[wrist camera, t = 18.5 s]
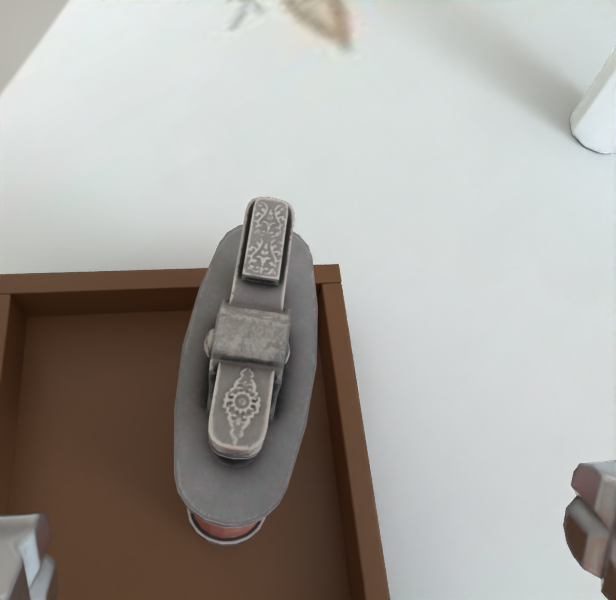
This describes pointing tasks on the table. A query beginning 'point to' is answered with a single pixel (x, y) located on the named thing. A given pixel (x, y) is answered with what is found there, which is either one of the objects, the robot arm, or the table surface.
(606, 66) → the milkshake
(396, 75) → the table surface
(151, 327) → the tray
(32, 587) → the robot arm
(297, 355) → the lighter
